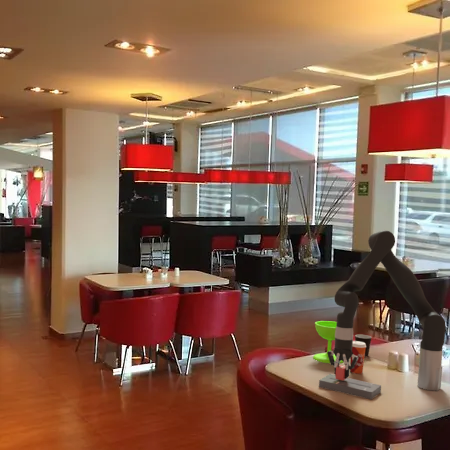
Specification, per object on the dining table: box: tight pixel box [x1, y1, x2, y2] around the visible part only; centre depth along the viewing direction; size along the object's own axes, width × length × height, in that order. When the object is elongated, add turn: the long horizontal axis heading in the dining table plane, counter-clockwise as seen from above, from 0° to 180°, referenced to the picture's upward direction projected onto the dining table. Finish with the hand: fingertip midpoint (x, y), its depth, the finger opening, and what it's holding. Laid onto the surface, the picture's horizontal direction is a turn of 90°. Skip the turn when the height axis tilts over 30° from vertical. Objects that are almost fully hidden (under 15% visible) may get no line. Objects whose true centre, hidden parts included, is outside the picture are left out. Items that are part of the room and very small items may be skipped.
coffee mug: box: [354, 334, 372, 358], centre depth 296 cm, size 12×9×10 cm
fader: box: [335, 364, 347, 380], centre depth 239 cm, size 4×5×6 cm
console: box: [318, 373, 382, 400], centre depth 237 cm, size 23×12×3 cm, turn 57°
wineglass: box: [312, 320, 344, 364], centre depth 285 cm, size 16×16×18 cm
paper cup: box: [349, 340, 366, 375], centre depth 264 cm, size 8×8×14 cm
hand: (341, 376), depth 239 cm, fingers closed on fader, 3 cm apart
